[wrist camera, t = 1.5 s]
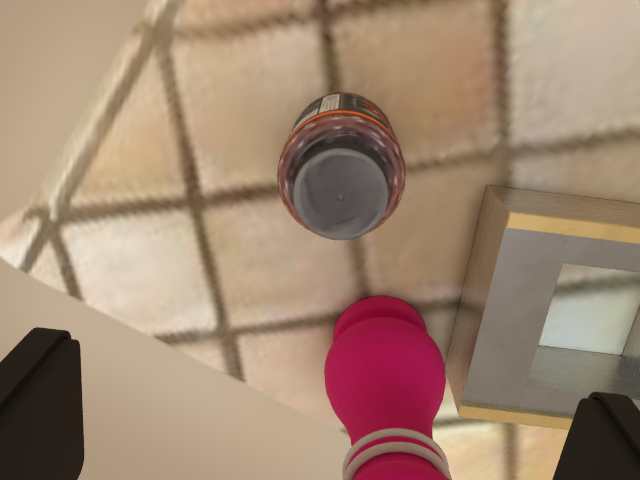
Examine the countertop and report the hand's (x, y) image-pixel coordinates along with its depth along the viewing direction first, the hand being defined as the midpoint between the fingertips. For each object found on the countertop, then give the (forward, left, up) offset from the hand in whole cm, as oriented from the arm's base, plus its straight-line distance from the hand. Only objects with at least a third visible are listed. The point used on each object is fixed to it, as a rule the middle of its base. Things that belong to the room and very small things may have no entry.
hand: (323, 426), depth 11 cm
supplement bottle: (0, 0, -26) cm, 26 cm away
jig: (-17, +8, -25) cm, 31 cm away
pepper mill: (-5, +13, -26) cm, 29 cm away
